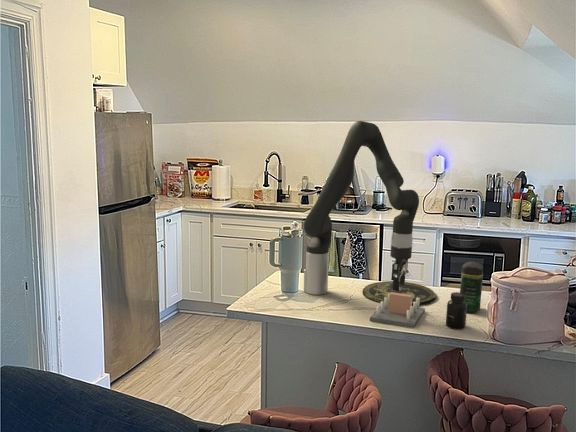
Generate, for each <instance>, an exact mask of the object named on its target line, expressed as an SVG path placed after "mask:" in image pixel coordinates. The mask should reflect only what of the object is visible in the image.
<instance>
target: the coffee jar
mask: <svg viewBox="0 0 576 432" xmlns="http://www.w3.org/2000/svg"><path fill="white" fill-rule="evenodd" d="M483 279H484V266H483V265H482V264H481V262H477V261H476V262H475V261H468V262H465V263H463V265H462V267H461V275H460V288H459V293H463V294H465V302H466V303H467V313H468V314H472V313H474V314H477V313H478V312H480V309H481V302H482V292H483V291H482V290H483V281H484V280H483Z"/></svg>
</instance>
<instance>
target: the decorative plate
mask: <svg viewBox="0 0 576 432" xmlns="http://www.w3.org/2000/svg"><path fill="white" fill-rule="evenodd" d="M391 292H394V293H401V294H408V295H413V296H412V306H413V302H416V299H417V298H420V303H419V307H421V306H422V307H423V306H425V305H429V304H433V303H434V302H435V301H436V299H437V295H436V293H435V291H434V290H433V289H431V288H429V287H428V286H425V285H421V284H418V283H414V282H407V281H405V284H404V285H400V284H399V291H393V280H391V281H388V280H387V281H377V282H374V283H370V284H367V285H366V286H365V287H364V288H363V289H362V296H363V297H364V298H365V299H367V300H368V301H369V300H370V301H371V302H374V303H378V304H380V305H381V301H383V302H384V298H388V294H390V293H391ZM387 302H388V301H387Z"/></svg>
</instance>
